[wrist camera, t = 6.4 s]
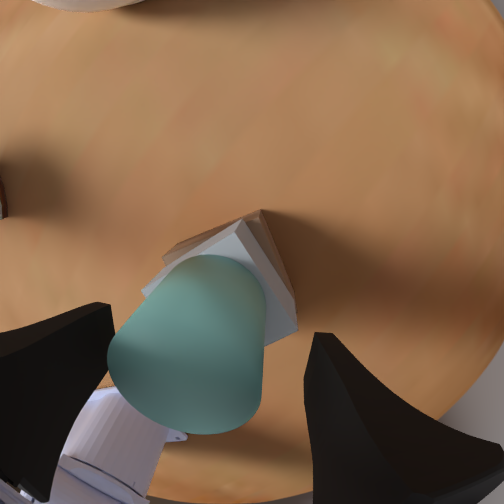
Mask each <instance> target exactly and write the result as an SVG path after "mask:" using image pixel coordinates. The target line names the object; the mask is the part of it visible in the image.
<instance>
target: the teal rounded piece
mask: <svg viewBox="0 0 504 504" xmlns="http://www.w3.org/2000/svg"><path fill="white" fill-rule="evenodd" d="M265 320H266V299H265V295H264V292H263V289H262V287H261V285H260V283H259V282H258V280H257V279H256V277H255V276H254V275H253V274H252V273H251V272H250V271H249V270H248V269H247V268H245V267H244V266H243V265H241V264H240V263H238V262H236V261H234V260H232V259H230V258H227V257H223V256H219V255H209V254H206V255H198V256H193V257H190V258H188V259H185V260H184V261H182V262H180V263H179V264H178V265H176V266H175V267H174V268H173V269H172V270H171V271H170V272H169V273H168V275H167V276H166V277H165V278H164V279H163V280H162V281H161V282H160V283H159V285H158V286H157V287H156V288H155V289H154V290H153V291H152V293H151V294H150V295H149V296H148V297H147V298H146V299H145V301H144V302H143V303H142V304H141V305H140V306H139V307H138V309H137V310H136V311H135V312H134V313H133V314H132V316H131V317H130V318H129V319H128V320H127V321H126V323H125V324H124V325H123V326H122V327H121V329H120V330H119V331H118V332H117V333H116V335H115V336H114V337H113V339H112V340H111V342H110V345H109V348H108V353H107V364H108V369H109V373H110V376H111V378H112V380H113V382H114V384H115V386H116V388H117V389H118V391H119V392H120V393H121V395H122V396H123V397H124V398H125V400H126V401H127V402H128V403H129V404H130V405H131V406H133V407H134V408H135V409H136V410H137V411H139V412H140V413H141V414H143V415H144V416H146V417H147V418H149V419H151V420H152V421H154V422H156V423H158V424H160V425H163V426H165V427H168V428H170V429H174V430H177V431H181V432H185V433H191V434H218V433H223V432H228V431H230V430H233V429H236V428H238V427H240V426H242V425H243V424H245V423H246V422H248V421H249V420H250V419H251V418H252V417H253V415H254V414H255V413H256V411H257V409H258V407H259V405H260V402H261V394H262V377H263V359H264V340H265Z"/></svg>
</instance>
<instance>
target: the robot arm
mask: <svg viewBox="0 0 504 504" xmlns="http://www.w3.org/2000/svg"><path fill="white" fill-rule="evenodd" d="M114 336H115V330H114V324H113V317H112V311H111V305H110V304H106V303H101V302H94V303H90V304H87V305H84V306H81V307H78V308H76V309H73V310H70V311H68V312H65V313H62V314H60V315H57V316H54V317H52V318H49V319H46V320H43V321H40V322H37V323H35V324H32V325H29V326H26V327H22V328H19V329H15V330H11V331H7V332H2V333H0V504H149V502H150V501H149V500H147V499H145V497H146V494H147V491H148V489H149V486H150V483H151V480H152V477H153V475H154V472H155V469H156V466H157V464H158V461H159V458H160V455H161V453H162V450H163V447H164V444H165V442H174V441H185V440H187V438H188V436H187V434H186V433H185V432H181V431H177V430H174V429H170V428H168V427H165V426H163V425H160V424H158V423H156V422H154V421H152V420H151V419H149V418H147V417H146V416H144V415H143V414H141V413H140V412H139V411H137V410H136V409H135V408H134V407H133V406H131V405H130V404H129V403H128V402H127V401H126V400H125V398H124V397H123V396H122V395H121V393H120V392H119V391H118V389H117V388H116V386H114V387H108V388H103V389H97V390H95V389H96V388H97V386H98V385H99V383H100V382H101V380H102V379H103V377H104V376H105V374H106V373H107V371H108V370H109V369H108V364H107V353H108V348H109V345H110V342H111V340H112V339H113V337H114ZM304 405H305V411H306V418H307V425H308V431H309V438H310V444H311V451H312V460H313V504H477V503H478V502H480V501H481V500H482V499H483V498H485V496H487V495H488V494H489V493H491V492H492V491H493V490H494V489H495V488H496V487H497V486H498V485H500V484H501V483H502V482H503V481H504V451H503V449H502V447H501V446H500V444H497V443H494V442H490V441H486V440H483V439H480V438H476V437H473V436H470V435H467V434H465V433H462V432H460V431H458V430H455V429H453V428H450V427H448V426H446V425H444V424H442V423H440V422H438V421H436V420H434V419H433V418H431V417H429V416H427V415H426V414H424V413H422V412H420V411H419V410H417V409H416V408H414V407H413V406H411V405H410V404H408V403H407V402H405V401H404V400H403V399H401V398H400V397H399V396H397V395H396V394H395V393H393V392H392V391H391V390H390V389H388V388H387V387H386V386H385V385H384V384H383V383H381V382H380V381H379V380H378V379H377V378H376V377H375V376H374V375H373V374H371V373H370V372H369V371H368V370H367V369H366V368H365V367H364V366H363V365H362V364H361V363H360V362H359V361H358V360H357V359H356V358H355V357H354V355H353V354H352V353H351V352H350V351H349V350H348V349H347V348H346V347H345V346H344V345H343V344H342V343H341V341H340V340H339V339H338V338H337V337H336V336H335V335H334V334H333V333H321V332H315V333H314V337H313V342H312V346H311V350H310V354H309V358H308V363H307V367H306V370H305V374H304ZM7 481H8V482H9V483H10V484H12V485H13V486H14V487H19V488H20V489H21V493H20V494H19V493H18V492H17V491H15V490H14V489H13V488H11V487H10V486H9V485H8V484H6V482H7Z"/></svg>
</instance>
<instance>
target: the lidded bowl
mask: <svg viewBox="0 0 504 504" xmlns="http://www.w3.org/2000/svg"><path fill="white" fill-rule="evenodd" d="M32 1H35V2H37V3H40V4H42V5H45V6H49V7H52V8H55V9H59V10H64V11H69V12H82V13H90V12H100V11H107V10H112V9H116V8H119V7H122V6H126V5H132V4H136V3H139V2H142V1H145V0H32Z"/></svg>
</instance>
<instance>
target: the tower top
mask: <svg viewBox="0 0 504 504" xmlns="http://www.w3.org/2000/svg"><path fill="white" fill-rule="evenodd" d="M206 254H209V255H219V256H223V257H227V258H230V259H232V260H234V261H236V262H238V263H240V264H241V265H243V266H244V267H245V268H247V269H248V270H249V271H250V272H251V273H252V274H253V275H254V276H255V277H256V279H257V280H258V282H259V283H260V285H261V287H262V289H263V292H264V295H265V299H266V320H265V340H264V347H265V346H267V345H269V344H271V343H273V342H275V341H278V340H280V339H282V338H284V337H286V336H288V335H290V334H292V333H294V332H296V331H298V324H297V317H296V310H295V303H294V299H293V298H292V296H291V294H290V293H289V291H288V290H287V288H286V286H285V285H284V283H283V282H282V280H281V278H280V277H279V275H278V274H277V272H276V270H275V269H274V267H273V266H272V264H271V262H270V261H269V259H268V258H267V256H266V255H265V253H264V251H263V250H262V248H261V247H260V245H259V244H258V242H257V240H256V239H255V237H254V236H253V234H252V232H251V231H250V229H249V228H248V226H247V225H246V223H245V221H244V220H243V218H242V219H240V220H239V221H237V222H236V223H234V224H232V225H231V226H229V227H227V228H226V229H224V230H223V231H221V232H219V233H218V234H216V235H215V236H213V237H211V238H210V239H208V240H207V241H205V242H203V243H202V244H200V245H199V246H197V247H196V248H194V249H192V250H191V251H189V252H188V253H186V254H185V255H183V256H181V257H180V258H178V259H177V260H175V261H174V262H172V263H171V264H169V265H167V266H166V267H164V268H163V269H162V270H161V271H160V272H159V273H158V274H157V275H156V276H155V277H154V278H153V279H152V280H151V281H150V282H149V283H148V284H147V285H146V286H145V287H144V288H143V289H142V290H141V292H142V293H143V294H144V296H145V297H146V298H147V297H148V296H149V295H150V294H151V293H152V291H153V290H154V289H155V288H156V287H157V286H158V285H159V283H160V282H161V281H162V280H163V279H164V278H165V277H166V276H167V275H168V273H169V272H170V271H171V270H172V269H173V268H174V267H175V266H176V265H178V264H179V263H180V262H182V261H184V260H185V259H188V258H190V257H193V256H198V255H206Z"/></svg>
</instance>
